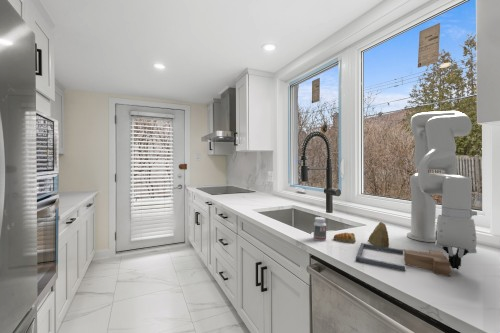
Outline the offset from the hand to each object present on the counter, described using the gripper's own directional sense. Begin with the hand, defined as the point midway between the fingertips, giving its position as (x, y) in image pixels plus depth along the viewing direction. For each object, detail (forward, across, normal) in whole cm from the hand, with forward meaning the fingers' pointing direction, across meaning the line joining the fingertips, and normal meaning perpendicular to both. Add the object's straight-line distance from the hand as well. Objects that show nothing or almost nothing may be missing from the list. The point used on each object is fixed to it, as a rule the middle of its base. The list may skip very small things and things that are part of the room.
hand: (454, 267), depth 81 cm
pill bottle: (+1, +47, -10) cm, 48 cm away
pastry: (+2, +36, -15) cm, 39 cm away
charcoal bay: (+1, +21, 0) cm, 21 cm away
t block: (+1, +8, 0) cm, 8 cm away
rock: (+2, +23, -15) cm, 28 cm away
